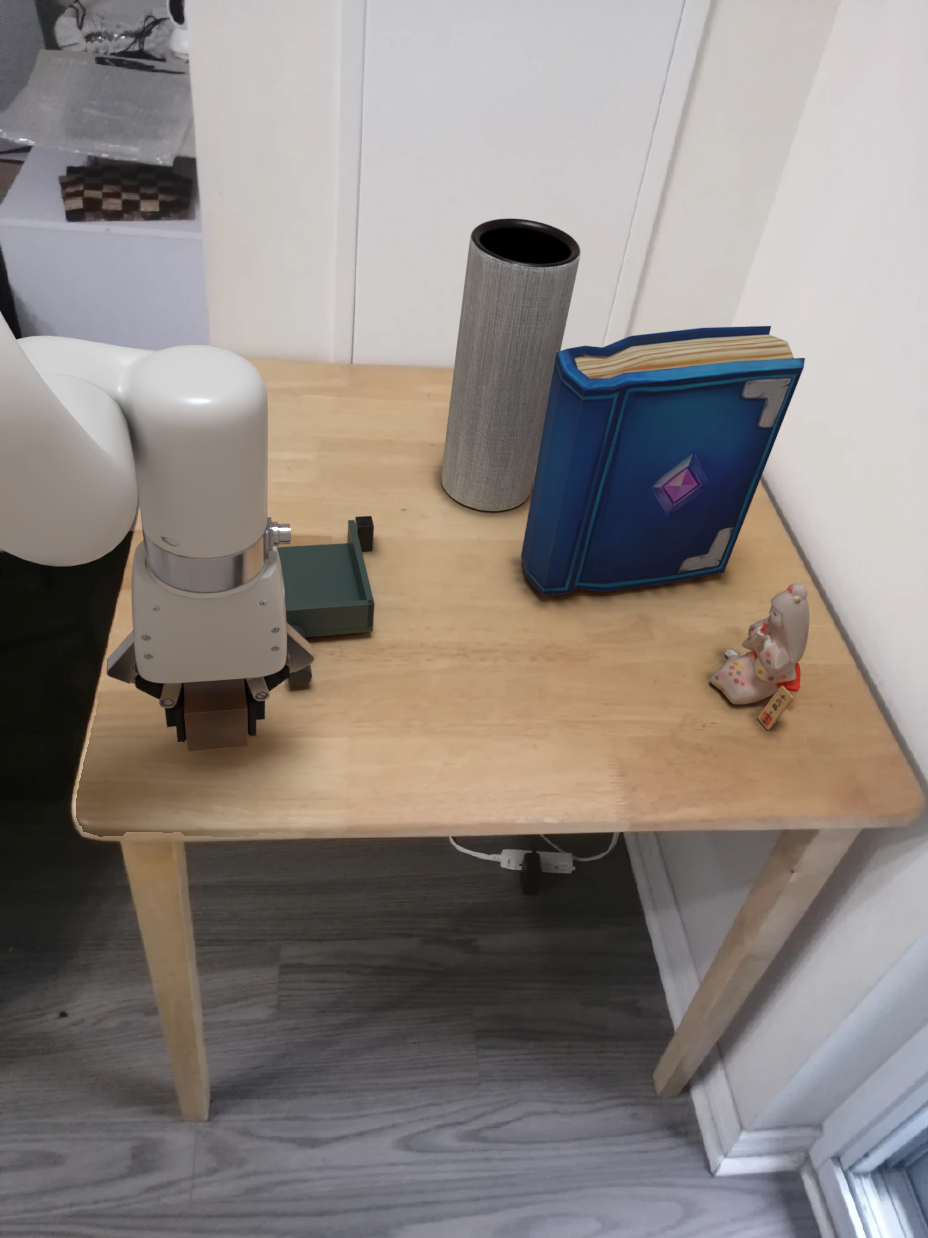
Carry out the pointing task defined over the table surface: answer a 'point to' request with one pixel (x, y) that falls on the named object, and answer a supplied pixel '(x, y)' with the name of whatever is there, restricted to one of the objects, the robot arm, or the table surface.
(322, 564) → the dustpan
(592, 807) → the table surface
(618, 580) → the book
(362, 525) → the pair of dark blocks
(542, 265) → the planter
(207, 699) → the block
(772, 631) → the figurine
